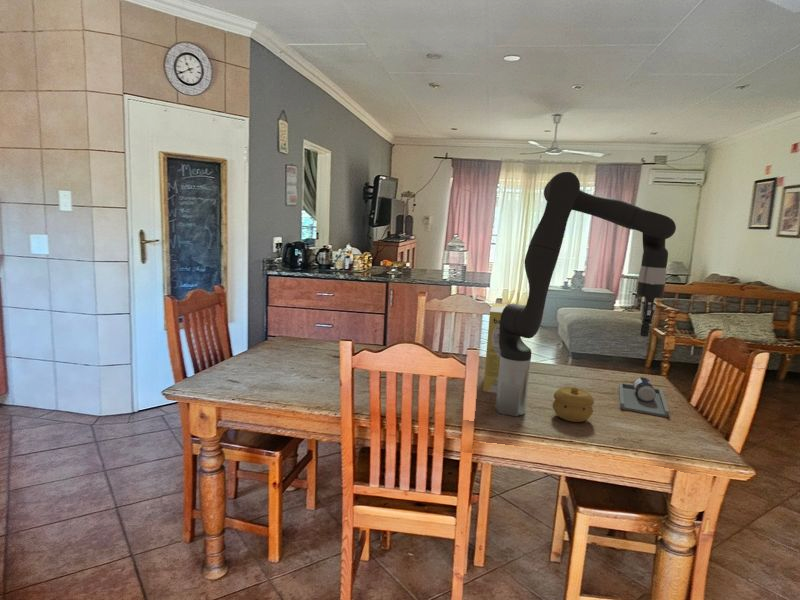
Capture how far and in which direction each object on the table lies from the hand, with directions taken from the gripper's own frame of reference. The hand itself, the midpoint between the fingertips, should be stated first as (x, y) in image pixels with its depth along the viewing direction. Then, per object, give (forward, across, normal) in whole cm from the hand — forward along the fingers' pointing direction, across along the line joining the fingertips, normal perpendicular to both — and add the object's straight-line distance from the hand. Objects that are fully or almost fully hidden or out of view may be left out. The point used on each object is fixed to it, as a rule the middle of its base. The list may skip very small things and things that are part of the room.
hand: (643, 335), depth 159 cm
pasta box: (+25, -3, -44) cm, 51 cm away
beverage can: (+21, -9, +4) cm, 23 cm away
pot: (+25, +17, -18) cm, 35 cm away
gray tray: (+25, -12, +3) cm, 28 cm away
